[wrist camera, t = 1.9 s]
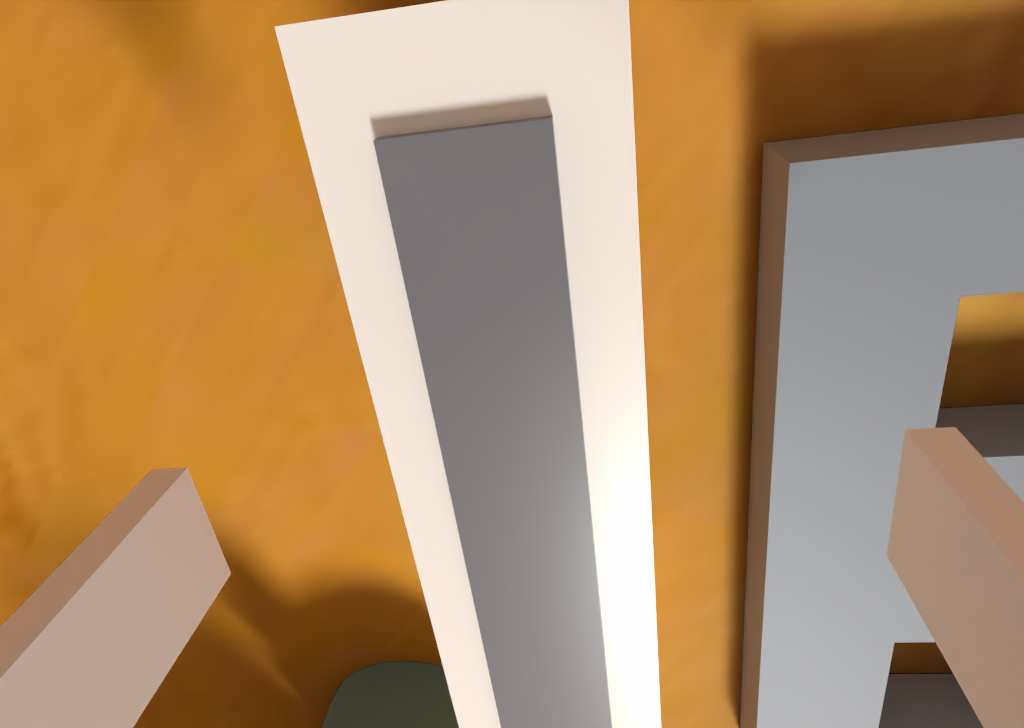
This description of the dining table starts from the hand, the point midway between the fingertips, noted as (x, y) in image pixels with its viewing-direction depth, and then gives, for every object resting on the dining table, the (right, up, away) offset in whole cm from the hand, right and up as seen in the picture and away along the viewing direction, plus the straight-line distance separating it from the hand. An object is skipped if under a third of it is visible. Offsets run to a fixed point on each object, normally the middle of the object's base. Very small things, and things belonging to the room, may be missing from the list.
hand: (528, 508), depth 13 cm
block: (+1, +4, +7) cm, 9 cm away
